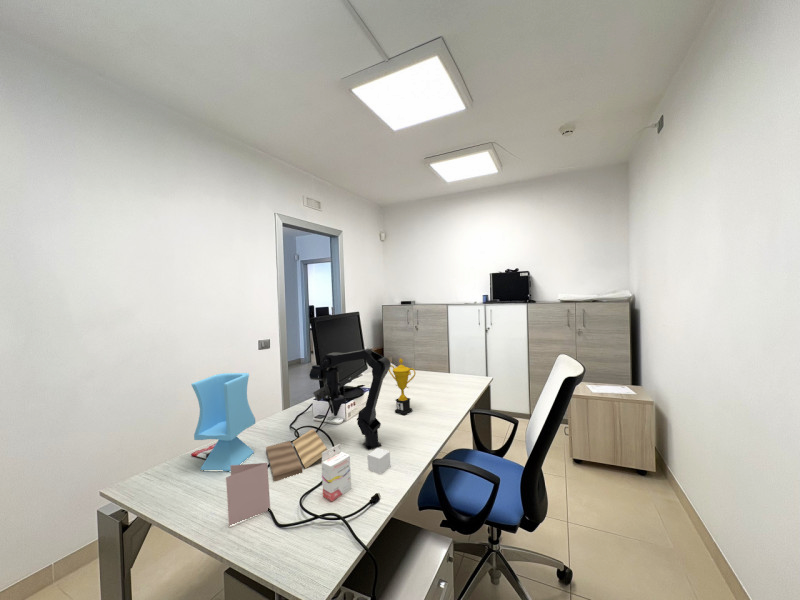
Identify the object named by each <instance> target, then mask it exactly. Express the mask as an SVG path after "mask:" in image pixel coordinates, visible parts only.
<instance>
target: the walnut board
mask: <svg viewBox="0 0 800 600" xmlns="http://www.w3.org/2000/svg"><path fill="white" fill-rule="evenodd" d="M265 452H266V456H267V459H268V463H270V464H269V467H270V470H271V476H272V478H273V482H274V481H275V482H278V481H282V480H284V478H285V479H288V478H291V477H293V475H294V476H296V474H297V475H299V473H300V474H303V466H302V464H301V462H300V458H299V457H298V456H297V453H296V451H295V448H294V445H293V443H292V442H291V440H288V441H284V442H280V443H275V444H272V445H269V446H266V447H265ZM290 476H291V477H290ZM287 477H288V478H287Z"/></svg>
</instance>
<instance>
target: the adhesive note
mask: <svg viewBox="0 0 800 600" xmlns="http://www.w3.org/2000/svg"><path fill="white" fill-rule="evenodd" d="M390 467H391V452H390V451H389V450H386V449H383V448H380V447H376V448H374V450H373V449H372V451H371V452H368V453H367V469H368V471H370V472H373V473H375V474H378V475H382V474H384V473H385V472H386V471H387V470H388V469H390Z"/></svg>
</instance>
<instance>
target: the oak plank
mask: <svg viewBox="0 0 800 600" xmlns="http://www.w3.org/2000/svg"><path fill="white" fill-rule="evenodd" d="M292 445H293V447H295V448H294V449H295V450H296V452H297V454H298V456H299V459H300V460H301V463H302V464H303V467H304V468H305V469H308V467H310V466H312V465H313V464H315V463H316V462H317V461H319V459H322V453H323V452H325V451H327V450H328V448H327V446H326V445H325V443H324V442H323V440H322V439H321V438H320V436H319V435H318V433H317V432H316V430H315V429H314V428H311V429H310V430H309V431H307V432H305V433H304V434H302V435H301V436H300V437H298V438H297V439H295V440H293V441H292Z"/></svg>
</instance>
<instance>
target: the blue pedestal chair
mask: <svg viewBox="0 0 800 600" xmlns="http://www.w3.org/2000/svg"><path fill="white" fill-rule="evenodd" d="M249 377H250V374H249V373H248V372H234V373H233V372H229V373H227V372H226V373H219V374H215V375H212V376H208V377H205V378H203V379H201V380H198V381H195V382H192V383H191V387H192V389H193V391H194V394H195V396H196V399H197V401H198V405H199V414H198V415H199V416H198V422H197V425H196V428H195V430H194V431H195V432H194V434H193V435H194V436H193V437H194V438H193V439H194V441H205V440H217V442H216V443H215V445H214V447H213V448H212V449H211V451H210V453H208V454H209V455H208V456H207V457H206V459H205V461H204V462H203V464H202V465H201V467H200V471H201V470H223V471H231V467H230V465H240V464H241V463H242V462H243V463H245V462H246V461H247V460H248V459H249V458H251V457H250V456H251V455H252V454H253V455H254V454H255V450H253V449H252V448H251V447H250V446H249V445H247V444H246V443H245V442H243V441H242V440H241V439H240V438H239V437H238V436H239V435H240V434H241V433H243V432H244V431H245V430H246V429H249V428H251V427H253V426H254V425H255V424H256V417H255V416H254V414H253V412H252V409H251V407H250V404H249V400H248V382H249ZM253 455H252V456H253ZM247 458H248V459H247ZM246 459H247V460H246ZM245 460H246V461H245ZM244 461H245V462H244ZM243 463H242V464H243ZM242 464H241V465H242Z"/></svg>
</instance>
